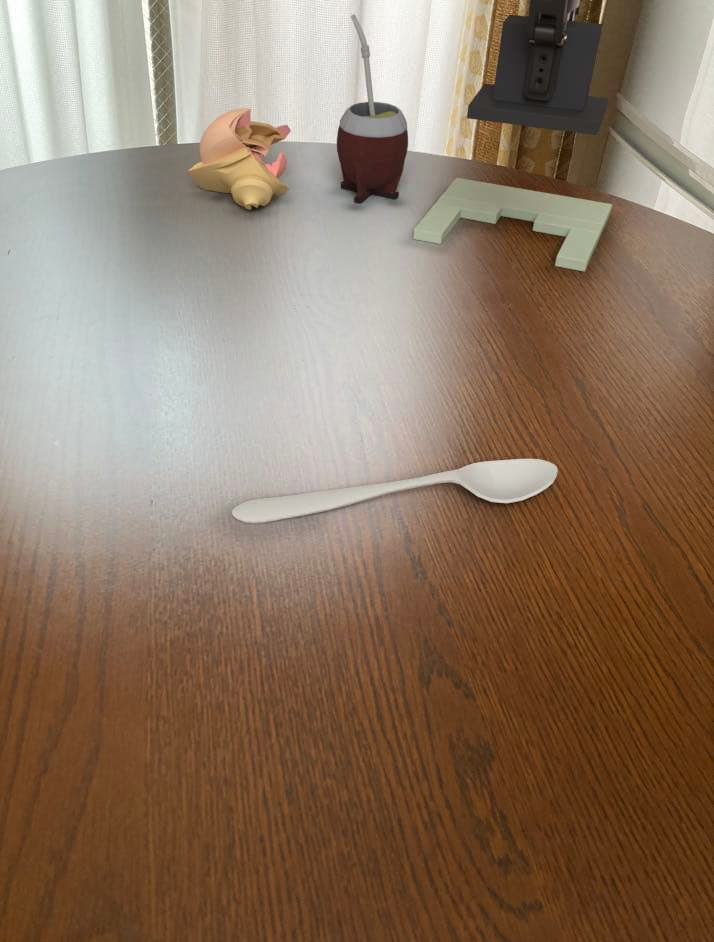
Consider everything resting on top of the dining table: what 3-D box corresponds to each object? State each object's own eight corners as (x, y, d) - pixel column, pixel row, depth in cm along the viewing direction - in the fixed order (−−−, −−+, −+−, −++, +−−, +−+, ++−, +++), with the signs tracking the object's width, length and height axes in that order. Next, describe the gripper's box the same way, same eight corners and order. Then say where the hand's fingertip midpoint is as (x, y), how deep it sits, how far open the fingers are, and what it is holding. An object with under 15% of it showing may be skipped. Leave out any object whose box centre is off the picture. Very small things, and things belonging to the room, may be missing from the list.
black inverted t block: (608, 104, 75) (628, 14, 70) (597, 135, 69) (617, 40, 65) (487, 89, 77) (499, 1, 73) (466, 118, 72) (478, 25, 67)
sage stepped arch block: (610, 213, 91) (612, 203, 91) (584, 272, 82) (587, 261, 81) (454, 186, 96) (456, 177, 95) (412, 239, 86) (414, 228, 85)
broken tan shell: (304, 219, 90) (245, 164, 83) (224, 249, 96) (162, 200, 88) (307, 139, 93) (249, 79, 85) (229, 173, 98) (168, 120, 90)
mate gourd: (388, 211, 91) (401, 43, 81) (315, 196, 93) (319, 31, 83) (414, 185, 96) (430, 24, 86) (345, 171, 98) (352, 13, 88)
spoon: (565, 506, 57) (570, 485, 56) (235, 538, 55) (234, 517, 54) (541, 466, 60) (546, 445, 59) (228, 494, 58) (227, 473, 57)
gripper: (639, -180, 54) (577, 127, 66) (658, -196, 64) (601, 74, 75) (512, -186, 56) (474, 114, 68) (549, -201, 66) (510, 63, 77)
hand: (541, 91), depth 71 cm, fingers closed on black inverted t block, 2 cm apart
